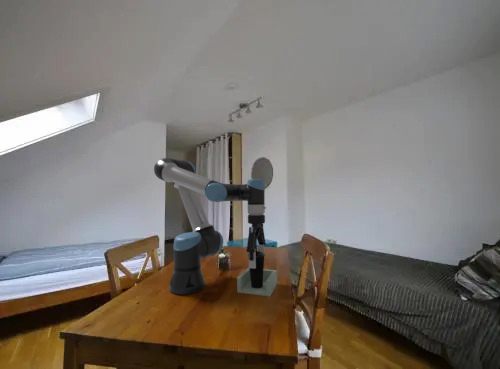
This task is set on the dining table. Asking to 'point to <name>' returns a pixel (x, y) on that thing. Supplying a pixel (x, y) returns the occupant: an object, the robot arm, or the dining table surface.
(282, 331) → the dining table surface
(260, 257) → the drinking cup
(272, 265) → the dining table surface
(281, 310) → the dining table surface
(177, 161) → the robot arm
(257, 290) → the u rest
